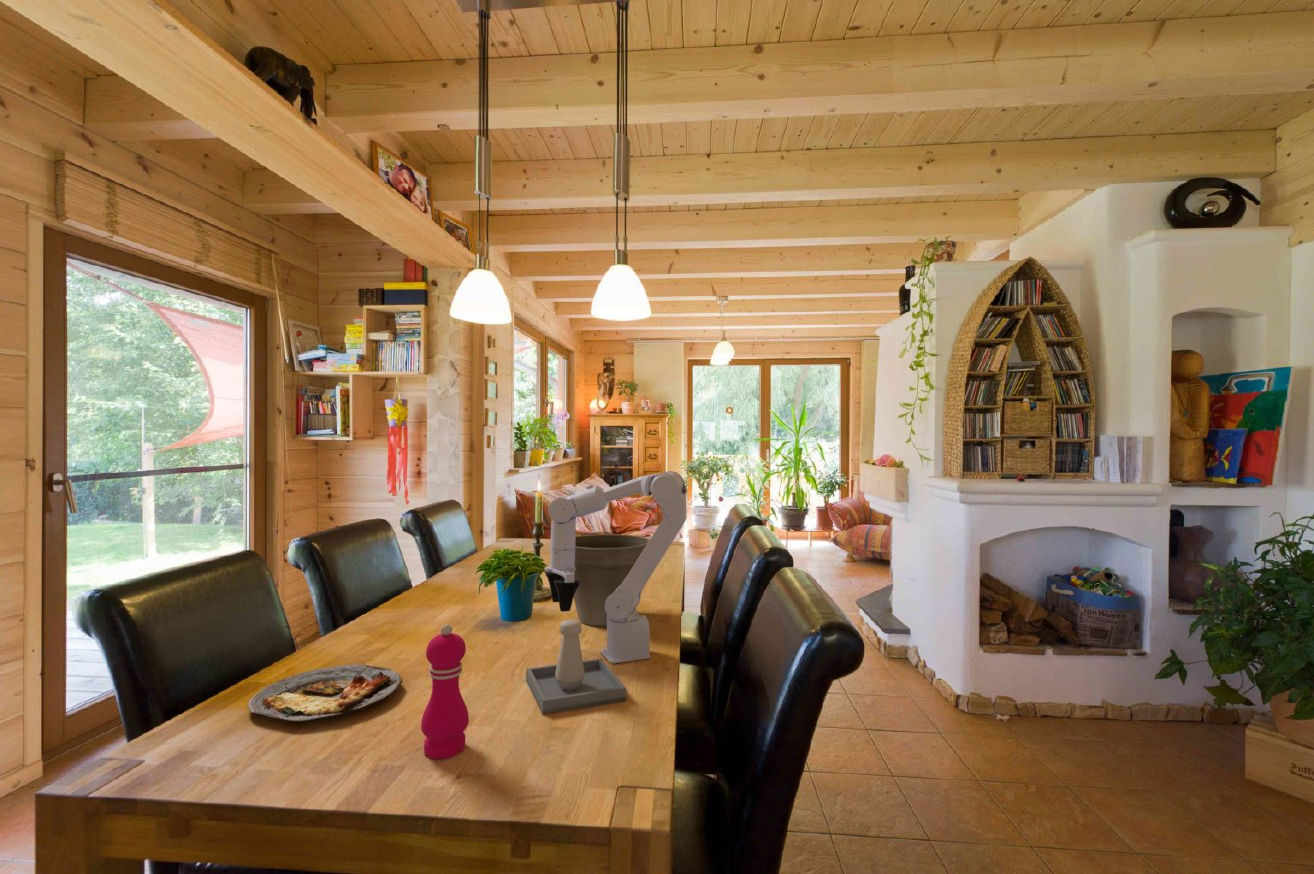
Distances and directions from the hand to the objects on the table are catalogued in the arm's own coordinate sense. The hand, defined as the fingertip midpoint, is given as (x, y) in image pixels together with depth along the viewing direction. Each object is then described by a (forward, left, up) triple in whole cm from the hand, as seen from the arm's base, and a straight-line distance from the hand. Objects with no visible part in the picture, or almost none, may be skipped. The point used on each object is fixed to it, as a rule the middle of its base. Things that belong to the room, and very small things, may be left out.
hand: (561, 606), depth 141 cm
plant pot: (-17, -20, -11) cm, 28 cm away
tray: (+3, +22, -10) cm, 25 cm away
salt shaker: (+3, +22, -10) cm, 24 cm away
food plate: (+47, +9, -11) cm, 49 cm away
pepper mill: (+28, +36, -11) cm, 47 cm away
